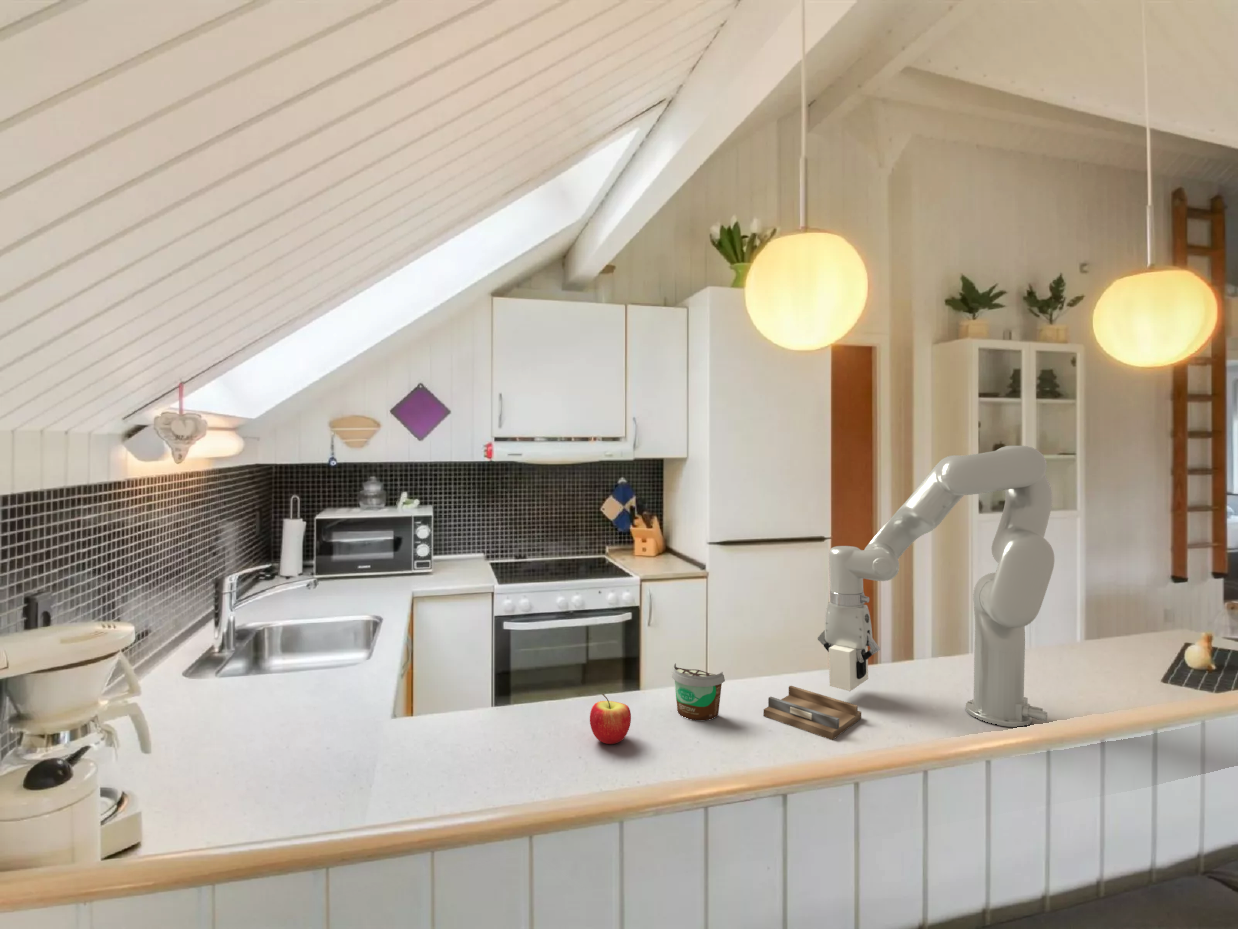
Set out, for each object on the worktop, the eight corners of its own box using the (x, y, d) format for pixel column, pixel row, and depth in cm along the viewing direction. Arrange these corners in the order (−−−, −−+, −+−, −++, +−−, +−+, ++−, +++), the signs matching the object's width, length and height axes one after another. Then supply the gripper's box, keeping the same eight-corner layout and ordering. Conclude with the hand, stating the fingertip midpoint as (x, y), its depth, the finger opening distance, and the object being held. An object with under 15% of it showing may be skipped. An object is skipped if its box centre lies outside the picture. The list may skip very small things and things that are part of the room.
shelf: (861, 718, 137) (861, 702, 137) (832, 740, 127) (832, 723, 127) (794, 697, 148) (795, 683, 148) (763, 716, 138) (763, 700, 138)
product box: (868, 678, 150) (867, 641, 150) (850, 691, 143) (849, 652, 143) (847, 674, 154) (846, 637, 154) (828, 685, 147) (827, 647, 146)
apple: (584, 735, 129) (584, 687, 128) (622, 728, 132) (622, 682, 131) (597, 753, 121) (597, 702, 121) (637, 746, 124) (637, 696, 124)
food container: (662, 715, 138) (662, 671, 138) (673, 705, 143) (673, 662, 143) (715, 727, 132) (715, 681, 132) (724, 716, 138) (725, 672, 137)
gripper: (889, 600, 145) (891, 678, 145) (820, 591, 157) (822, 662, 157) (876, 607, 139) (878, 687, 140) (805, 596, 151) (807, 670, 152)
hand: (848, 673), depth 148 cm, fingers closed on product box, 5 cm apart
